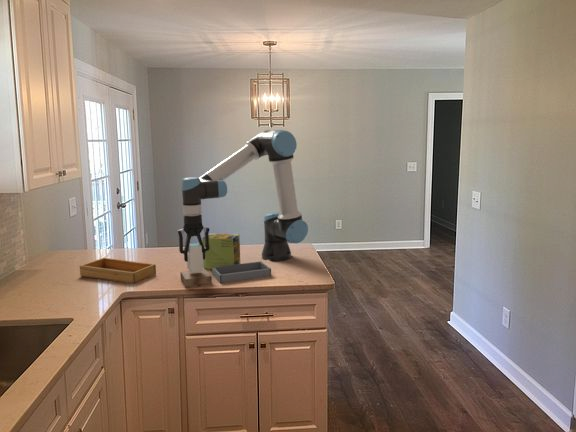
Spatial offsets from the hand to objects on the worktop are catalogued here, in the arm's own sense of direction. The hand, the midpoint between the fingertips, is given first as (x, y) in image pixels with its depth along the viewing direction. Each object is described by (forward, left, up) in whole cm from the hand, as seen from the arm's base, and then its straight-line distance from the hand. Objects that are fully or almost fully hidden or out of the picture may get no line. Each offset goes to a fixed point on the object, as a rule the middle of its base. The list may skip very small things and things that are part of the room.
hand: (195, 267), depth 208 cm
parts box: (0, 0, -1) cm, 1 cm away
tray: (+30, -26, -7) cm, 41 cm away
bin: (-21, 0, -7) cm, 22 cm away
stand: (0, 0, -7) cm, 7 cm away
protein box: (-17, -19, -7) cm, 26 cm away
